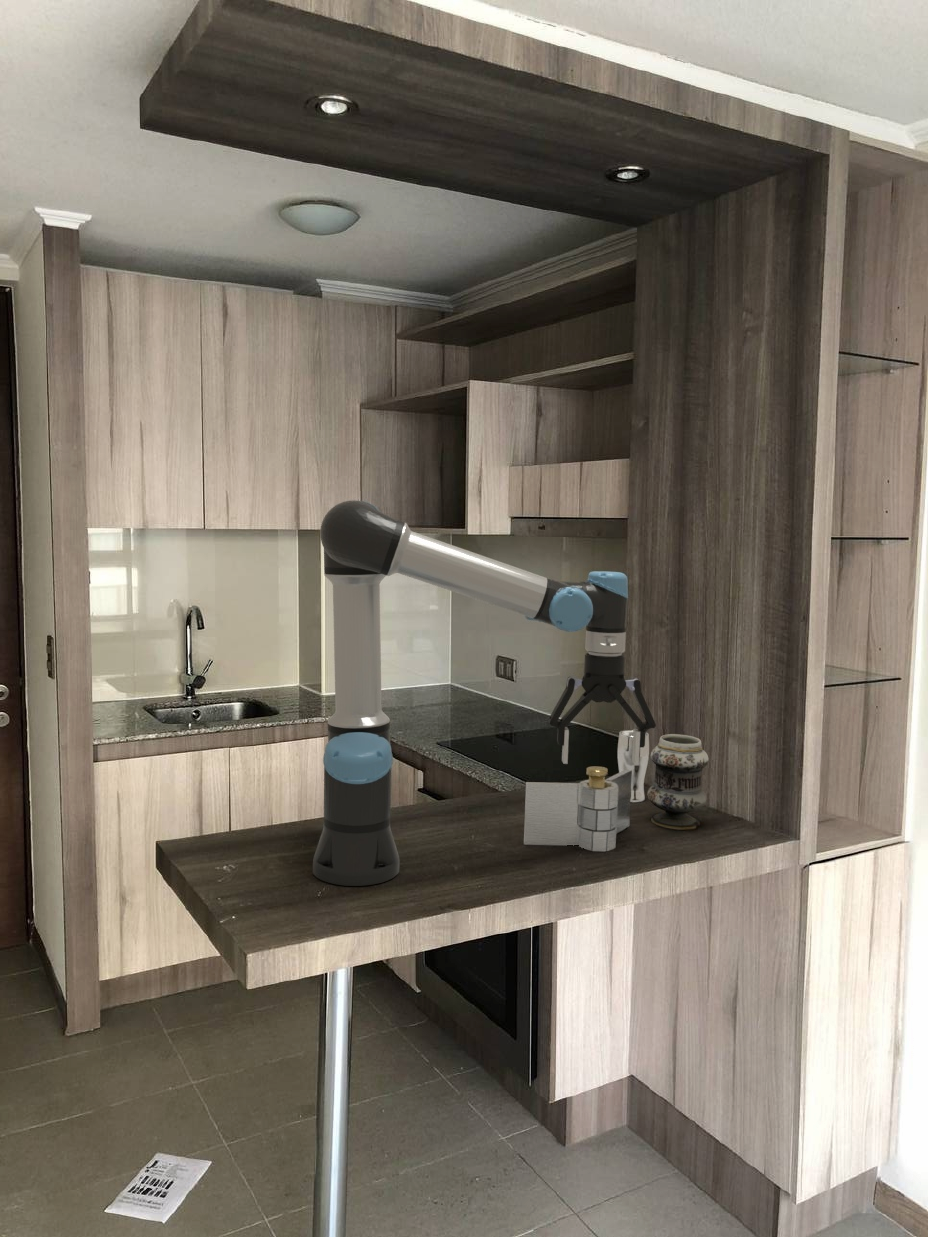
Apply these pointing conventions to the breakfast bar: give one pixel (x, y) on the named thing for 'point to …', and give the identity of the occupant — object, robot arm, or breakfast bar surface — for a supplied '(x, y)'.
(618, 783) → the hinge swing leaf
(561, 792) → the hinge fixed leaf
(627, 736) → the beer glass
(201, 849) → the breakfast bar surface
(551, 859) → the breakfast bar surface
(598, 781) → the brass pin
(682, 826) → the apothecary jar
